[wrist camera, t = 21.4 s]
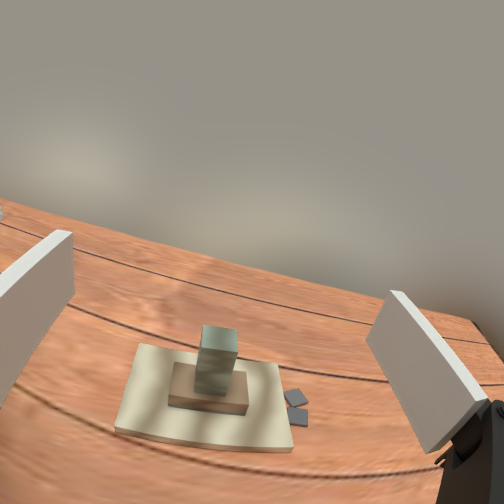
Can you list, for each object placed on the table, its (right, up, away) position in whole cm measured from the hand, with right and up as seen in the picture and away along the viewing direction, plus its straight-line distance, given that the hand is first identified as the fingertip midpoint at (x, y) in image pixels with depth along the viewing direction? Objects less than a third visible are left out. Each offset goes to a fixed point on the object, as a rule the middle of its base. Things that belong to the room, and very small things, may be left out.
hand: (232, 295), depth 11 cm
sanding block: (-5, -18, +25) cm, 31 cm away
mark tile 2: (+7, -21, +30) cm, 37 cm away
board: (-6, -19, +26) cm, 33 cm away
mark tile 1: (+7, -22, +27) cm, 35 cm away
